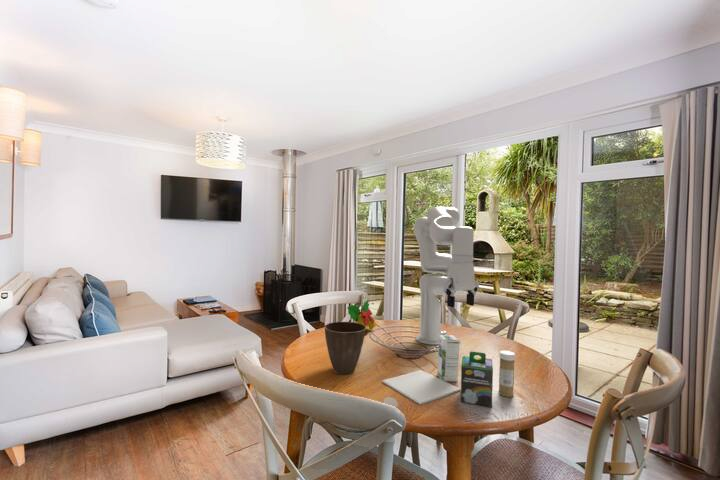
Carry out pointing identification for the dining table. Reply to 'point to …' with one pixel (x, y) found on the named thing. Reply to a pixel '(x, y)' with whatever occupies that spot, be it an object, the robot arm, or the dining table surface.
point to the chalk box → (477, 379)
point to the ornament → (362, 316)
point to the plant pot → (344, 345)
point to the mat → (421, 386)
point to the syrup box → (448, 358)
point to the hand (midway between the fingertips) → (460, 305)
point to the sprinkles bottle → (506, 373)
